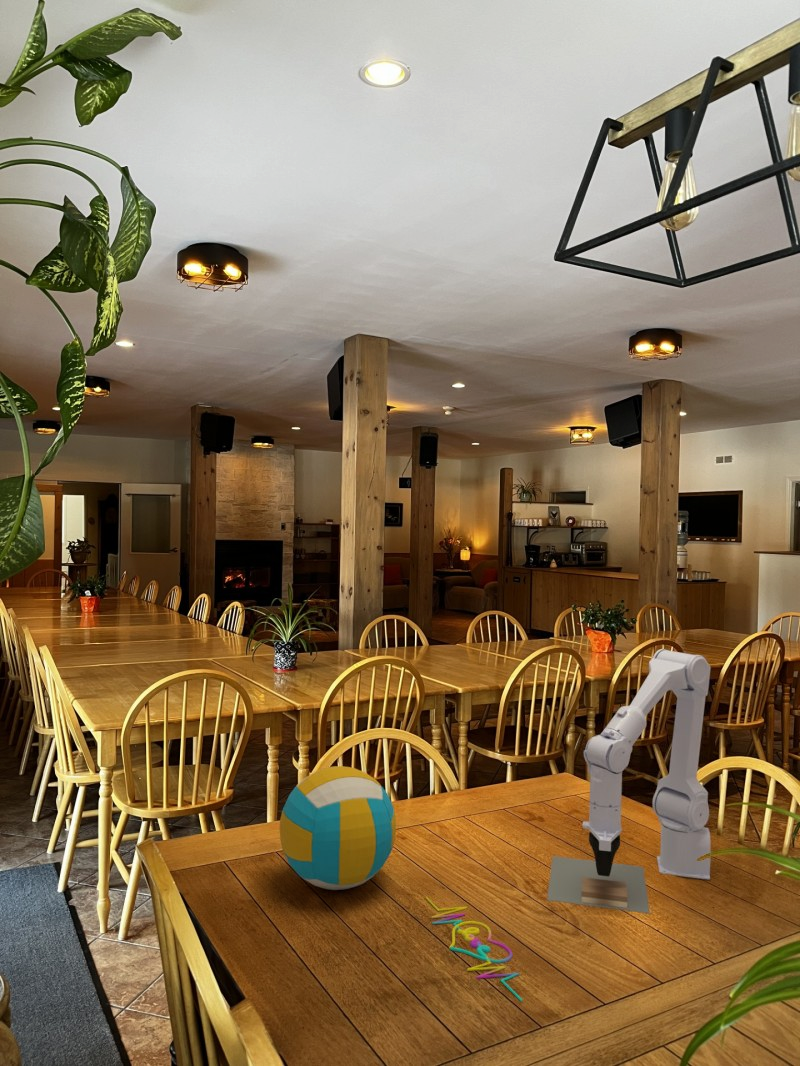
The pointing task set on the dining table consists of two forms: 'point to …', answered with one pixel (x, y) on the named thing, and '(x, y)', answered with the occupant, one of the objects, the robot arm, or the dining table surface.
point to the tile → (604, 892)
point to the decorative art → (475, 944)
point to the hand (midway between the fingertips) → (603, 874)
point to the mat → (570, 872)
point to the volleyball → (337, 828)
